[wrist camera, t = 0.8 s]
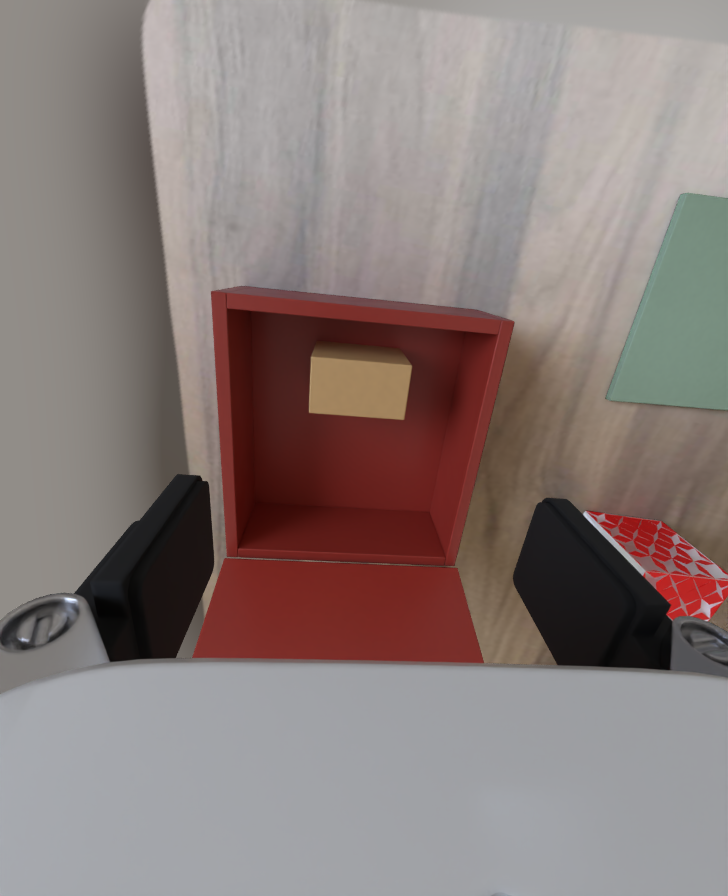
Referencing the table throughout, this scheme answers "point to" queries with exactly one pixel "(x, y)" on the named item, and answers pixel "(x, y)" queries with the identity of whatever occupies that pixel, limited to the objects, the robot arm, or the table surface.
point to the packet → (359, 380)
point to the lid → (338, 613)
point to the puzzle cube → (666, 563)
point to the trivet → (682, 315)
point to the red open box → (350, 428)
